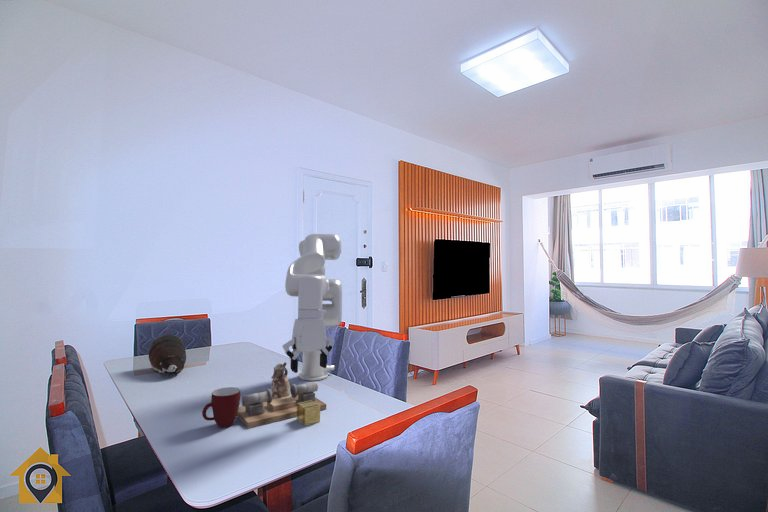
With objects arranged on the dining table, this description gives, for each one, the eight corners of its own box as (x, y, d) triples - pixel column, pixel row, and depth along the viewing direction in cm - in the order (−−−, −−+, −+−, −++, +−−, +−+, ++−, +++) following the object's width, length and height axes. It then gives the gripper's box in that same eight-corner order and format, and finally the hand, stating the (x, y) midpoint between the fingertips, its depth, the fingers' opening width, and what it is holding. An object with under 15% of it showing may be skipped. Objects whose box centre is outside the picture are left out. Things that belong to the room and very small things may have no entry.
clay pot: (154, 353, 151) (151, 332, 171) (147, 390, 152) (144, 365, 172) (194, 354, 160) (186, 334, 180) (187, 388, 161) (180, 364, 181)
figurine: (266, 396, 138) (266, 363, 138) (283, 391, 143) (283, 360, 144) (276, 401, 133) (277, 367, 133) (293, 396, 138) (294, 363, 139)
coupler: (296, 419, 118) (296, 403, 118) (311, 415, 121) (311, 399, 121) (304, 425, 113) (305, 409, 113) (320, 421, 116) (320, 405, 116)
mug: (209, 436, 105) (210, 400, 105) (197, 427, 111) (198, 393, 111) (244, 424, 113) (245, 391, 113) (232, 417, 118) (232, 385, 119)
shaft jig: (308, 397, 137) (308, 375, 138) (326, 409, 126) (326, 385, 126) (234, 413, 122) (235, 388, 122) (247, 428, 111) (248, 400, 111)
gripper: (328, 311, 126) (327, 363, 125) (279, 315, 115) (277, 370, 115) (340, 314, 120) (339, 367, 119) (288, 317, 109) (287, 376, 109)
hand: (309, 369), depth 117 cm, fingers open, 9 cm apart
